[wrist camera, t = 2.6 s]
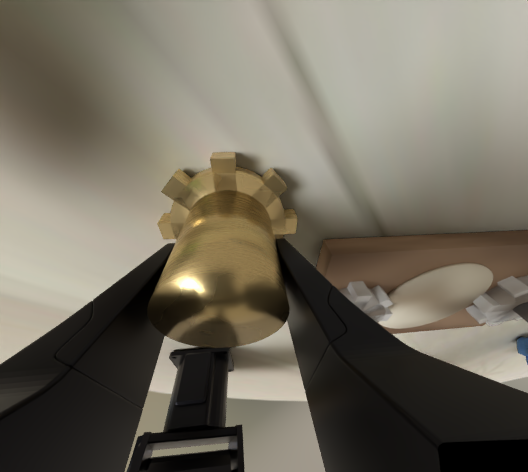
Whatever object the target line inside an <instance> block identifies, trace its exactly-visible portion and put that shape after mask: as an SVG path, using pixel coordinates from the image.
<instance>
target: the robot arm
mask: <svg viewBox="0 0 528 472" xmlns="http://www.w3.org/2000/svg"><path fill="white" fill-rule="evenodd" d="M275 242H276V247H277V251H278V256H279V260H280V265H281V270H282V274H283V279H284V283H285V288H286V292H287V297H288V302H289V307H290V312H289V316H288V319H287V321H288V325H289V329H290V333H291V337H292V341H293V345H294V349H295V353H296V357H297V361H298V365H299V369H300V373H301V377H302V381H303V385H304V388H305V390H306V391H305V393H306V397H307V401H308V404H309V408H310V412H311V416H312V420H313V424H314V428H315V432H316V436H317V440H318V443H319V448H320V452H321V456H322V459H323V463H324V467H325V471H326V472H528V393H526V392H523V391H520V390H517V389H515V388H512V387H509V386H506V385H504V384H501V383H499V382H496V381H494V380H491V379H488V378H486V377H483V376H481V375H478V374H475V373H473V372H470V371H467V370H465V369H462V368H460V367H457V366H454V365H452V364H449V363H447V362H444V361H441V360H439V359H436V358H434V357H431V356H428V355H426V354H423V353H421V352H419V351H417V350H415V349H413V348H411V347H409V346H408V345H406V344H404V343H403V342H401V341H400V340H399V339H397V338H396V337H395V336H393V335H392V334H391V333H390V332H388V331H387V330H386V329H385V328H383V327H382V326H381V325H380V324H378V323H377V322H376V321H375V320H373V319H372V318H371V317H369V316H368V315H367V314H366V313H364V312H363V311H362V310H361V309H360V308H358V307H357V306H356V305H355V304H354V303H352V302H351V301H350V300H349V299H348V298H347V297H346V296H344V295H343V294H342V293H341V292H340V291H339V290H338V289H337V288H336V287H335V286H334V285H332V284H331V283H330V282H329V281H328V280H327V279H326V278H325V277H324V276H323V275H322V274H321V273H320V272H319V271H318V270H317V269H316V268H315V267H314V266H313V265H312V264H310V263H309V262H308V261H307V260H306V259H305V258H304V257H303V256H302V255H301V254H300V253H299V252H298V251H297V250H296V249H295V248H294V247H293V246H292V245H291V244H290V243H288V242H287V241H286V240H285V239H284V238H281V239H276V240H275ZM174 245H175V243H169V244H167V245H165V246H164V247H163V248H161V249H160V250H159V251H157V252H156V253H155V254H153V255H152V256H151V257H149V258H148V259H147V260H145V261H144V262H143V263H141V264H140V265H139V266H137V267H136V268H135V269H133V270H132V271H131V272H129V273H128V274H127V275H125V276H124V277H123V278H121V279H120V280H119V281H117V282H116V283H115V284H113V285H112V286H111V287H109V288H108V289H107V290H105V291H104V292H103V293H101V294H100V295H99V296H97V297H96V298H95V299H94V300H93V301H91V302H89V303H88V304H87V305H85V306H84V307H83V308H81V309H80V310H79V311H77V312H76V313H75V314H73V315H72V316H70V317H69V318H68V319H66V320H65V321H64V322H62V323H61V324H59V325H58V326H56V327H55V328H53V329H52V330H51V331H49V332H48V333H46V334H45V335H43V336H42V337H40V338H39V339H37V340H36V341H34V342H33V343H31V344H30V345H28V346H27V347H25V348H24V349H22V350H21V351H20V352H18V353H17V354H15V355H14V356H12V357H11V358H9V359H8V360H6V361H5V362H3V363H2V364H0V472H124V471H125V468H126V464H127V461H128V458H129V454H130V451H131V447H132V444H133V441H134V437H135V434H136V431H137V427H138V424H139V421H140V417H141V414H142V410H143V409H142V408H143V407H144V403H145V400H146V397H147V393H148V390H149V387H150V383H151V380H152V376H153V373H154V370H155V366H156V363H157V360H158V356H159V353H160V350H161V346H162V343H163V340H164V336H165V335H164V334H162V333H161V332H159V331H158V330H157V329H156V328H155V327H154V326H153V325H152V324H151V322H150V320H149V318H148V314H147V308H148V304H149V301H150V299H151V297H152V294H153V292H154V290H155V288H156V285H157V283H158V281H159V279H160V276H161V274H162V272H163V270H164V268H165V265H166V263H167V261H168V259H169V256H170V254H171V252H172V250H173V247H174ZM169 358H170V360H171V361H172V362H173V364H174V365H175V366H176V368H177V369H178V370H177V375H176V379H175V383H174V387H173V392H172V396H171V401H170V405H169V409H168V413H167V417H166V422H165V426H164V430H163V432H161V433H151V432H145V433H144V435H142V436H139V437H138V438H137V442H136V445H135V448H134V451H133V455H132V458H131V461H130V464H129V467H128V469H127V472H244V453H243V433H242V425H236V426H235V427H225V423H226V403H227V384H228V372H231V371H234V365H233V360H232V356H231V352H230V348H228V347H226V348H210V349H199V350H187V351H176V352H171V353H170V356H169ZM221 443H229V446H228V449H226V450H217V451H208V452H198V453H189V454H180V455H171V456H161V457H152V458H151V456H152V451H153V450H160V449H170V448H181V447H191V446H200V445H211V444H221Z"/></svg>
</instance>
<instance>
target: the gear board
mask: <svg viewBox="0 0 528 472" xmlns="http://www.w3.org/2000/svg"><path fill="white" fill-rule="evenodd" d="M316 269H317V270H318V271H319V272H320V273H321V274H322V275H323V276H324V277H325V278H326V279H327V280H328V281H329V282H330V283H331V284H332V285H334V286H335V287H336V288H337V289H338V290H339V291H340V292H341V293H342V294H343V295H344V296H346V297H347V298H348V299H349V300H350V301H351V302H352V303H354V304H355V305H356V306H357V307H358V308H360V309H361V310H362V311H363V312H364V313H366V314H367V315H368V316H369V317H371V318H372V319H373V320H375V321H376V322H377V323H378V324H380V325H381V326H382V327H383V328H385V329H386V330H387V331H388V332H390V333H391V334H396V333H407V332H418V331H429V330H440V329H451V328H462V327H473V326H483V325H484V324H487V325H488V326H494V325H499V324H501V323H502V322H504V321H509V320H513V319H515V320H520V319H524V320H525V321H527V322H528V230H519V231H497V232H476V233H454V234H432V235H411V236H389V237H367V238H346V239H324V240H323V244H322V248H321V251H320V255H319V259H318V263H317V266H316Z"/></svg>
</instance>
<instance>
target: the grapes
mask: <svg viewBox="0 0 528 472" xmlns="http://www.w3.org/2000/svg"><path fill="white" fill-rule="evenodd" d="M517 349H518V353H520V354H522V355H524V356H526V361H527V365H528V338H527V337H520V338H519V339H518V340H517Z"/></svg>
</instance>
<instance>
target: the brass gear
mask: <svg viewBox="0 0 528 472" xmlns="http://www.w3.org/2000/svg"><path fill="white" fill-rule="evenodd" d="M210 161H211V167H212V168H209V169H206V170H203V171H201V172H199V173H197V174H196V175H194V176H193V177H192V178H191V177H189V176H188V175H187V174H185V173H184V172H183V171H182V170H180V169H178V170H177V172H176V173H175V174H174V175H173V176H172V178H171V179H170V180H169V182H168V183H167V184H166V186H165V187H164V188H163V190H162V191H161V192H162V193H164V194H165V195H167V196H168V197H170V198H171V199H172V200H174V203H173V205H172V209H171V213H164V214H163V216H162V217H161V219H160V220H159V222H158V223H157V224H158V226H159V229H160V231H161V234H162V236H163V239H177V241H176V243H175V245H174V247H173V250H172V252H171V254H170V256H169V259H168V261H167V263H166V265H165V268H164V270H163V272H162V274H161V276H160V279H159V281H158V283H157V285H156V288H155V290H154V292H153V294H152V297H151V299H150V301H149V304H148V308H147V314H148V318H149V320H150V322H151V324H152V325H153V326H154V327H155V328H156V329H157V330H158V331H159V332H161V333H162V334H164V335H165V336H167V337H169V338H171V339H173V340H176V341H178V342H181V343H184V344H188V345H193V346H199V347H209V348H226V347H236V346H242V345H246V344H250V343H254V342H257V341H259V340H262V339H264V338H266V337H268V336H270V335H272V334H273V333H275V332H276V331H278V330H279V329H280V328H281V327H282V326H283V325H284V323H285V322H286V320H287V319H288V316H289V312H290V307H289V302H288V297H287V292H286V288H285V283H284V279H283V274H282V270H281V265H280V260H279V256H278V251H277V247H276V242H275V240H276V239H281V238H283V236H284V234H295V233H296V226H297V220H298V218H297V216H296V214H295V211H294V209H288V210H284V209H283V206H282V203H281V200H280V198H279V196H280V195H281V194H283V193H284V192H285V191H286V190H287V186H286V184H285V182H284V181H283V179H282V178H281V177H280V176H279V175H278V174H277V173H276V172H275V171H274V170H273V169H272V168H270V169H269V170H268V171H267V172H266V173H265V174H264V175H263V176H262V177H261V176H260V175H258V174H257V173H255V172H252V171H250V170H247V169H244V168H241V167H236V156H235V152H221V153H213V154H212V156H211V158H210Z"/></svg>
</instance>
